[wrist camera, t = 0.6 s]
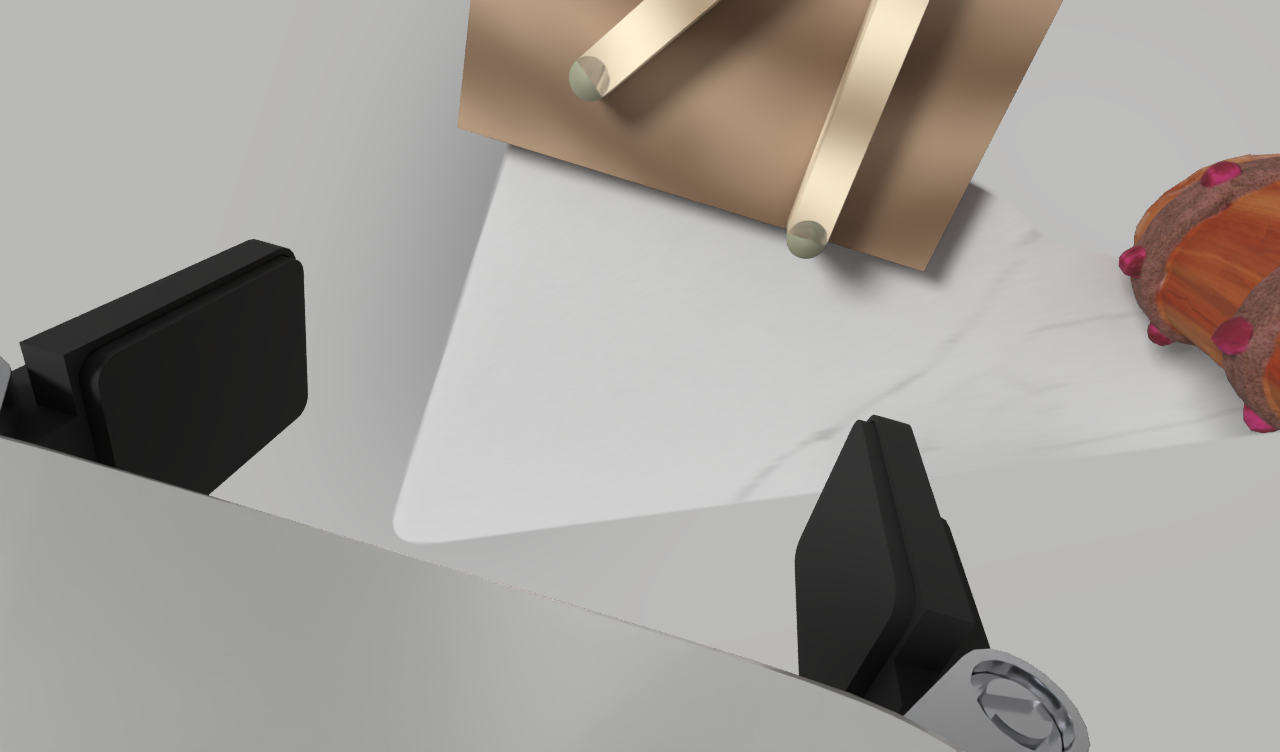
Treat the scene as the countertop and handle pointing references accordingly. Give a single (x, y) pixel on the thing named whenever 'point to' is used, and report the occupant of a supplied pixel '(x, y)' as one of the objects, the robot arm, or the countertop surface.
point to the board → (760, 104)
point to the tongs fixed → (851, 121)
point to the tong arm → (632, 44)
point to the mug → (1218, 275)
